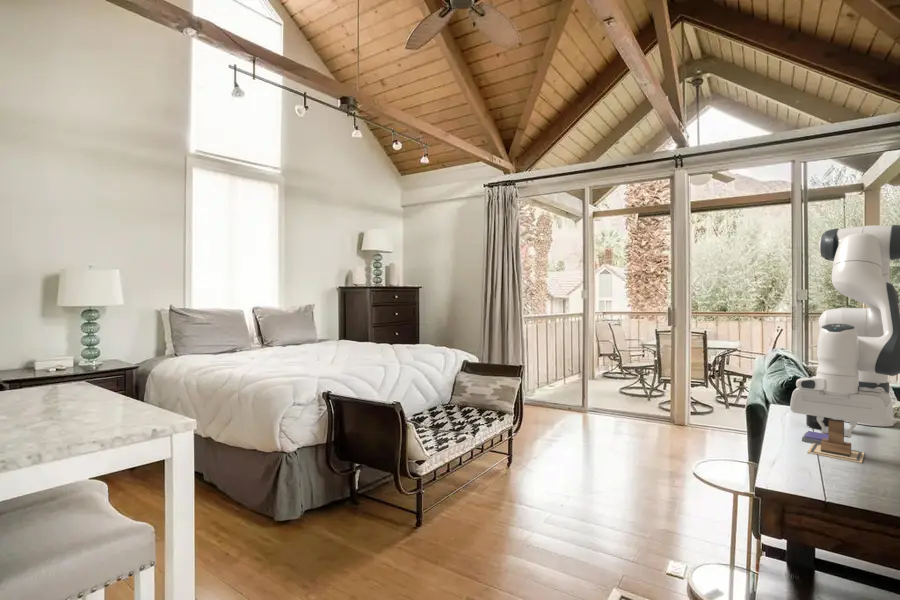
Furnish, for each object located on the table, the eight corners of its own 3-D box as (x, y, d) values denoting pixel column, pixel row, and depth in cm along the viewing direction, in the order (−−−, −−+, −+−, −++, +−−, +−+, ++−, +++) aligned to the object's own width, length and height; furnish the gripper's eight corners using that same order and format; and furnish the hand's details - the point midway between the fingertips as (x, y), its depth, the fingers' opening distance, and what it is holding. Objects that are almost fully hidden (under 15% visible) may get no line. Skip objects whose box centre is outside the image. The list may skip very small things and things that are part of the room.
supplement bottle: (838, 429, 149) (838, 392, 149) (821, 431, 147) (822, 393, 147) (816, 424, 155) (817, 388, 155) (800, 425, 154) (801, 389, 154)
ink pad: (806, 435, 142) (806, 430, 142) (842, 441, 136) (842, 436, 136) (801, 441, 136) (801, 436, 136) (839, 448, 130) (839, 442, 130)
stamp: (822, 447, 129) (823, 416, 129) (851, 452, 125) (851, 420, 125) (820, 451, 126) (821, 419, 126) (849, 457, 122) (850, 424, 122)
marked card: (813, 444, 133) (813, 442, 133) (864, 453, 125) (864, 451, 125) (807, 452, 125) (807, 451, 125) (861, 463, 118) (861, 461, 118)
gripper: (890, 388, 120) (889, 441, 120) (793, 378, 135) (792, 425, 135) (889, 391, 116) (888, 446, 116) (789, 380, 130) (788, 429, 130)
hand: (836, 435), depth 125 cm, fingers open, 3 cm apart
